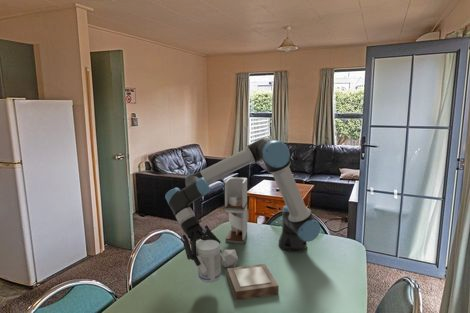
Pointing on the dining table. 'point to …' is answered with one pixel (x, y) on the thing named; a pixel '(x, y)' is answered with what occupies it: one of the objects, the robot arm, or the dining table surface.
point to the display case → (236, 208)
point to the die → (230, 258)
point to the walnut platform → (252, 282)
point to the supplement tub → (209, 260)
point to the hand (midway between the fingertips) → (214, 266)
